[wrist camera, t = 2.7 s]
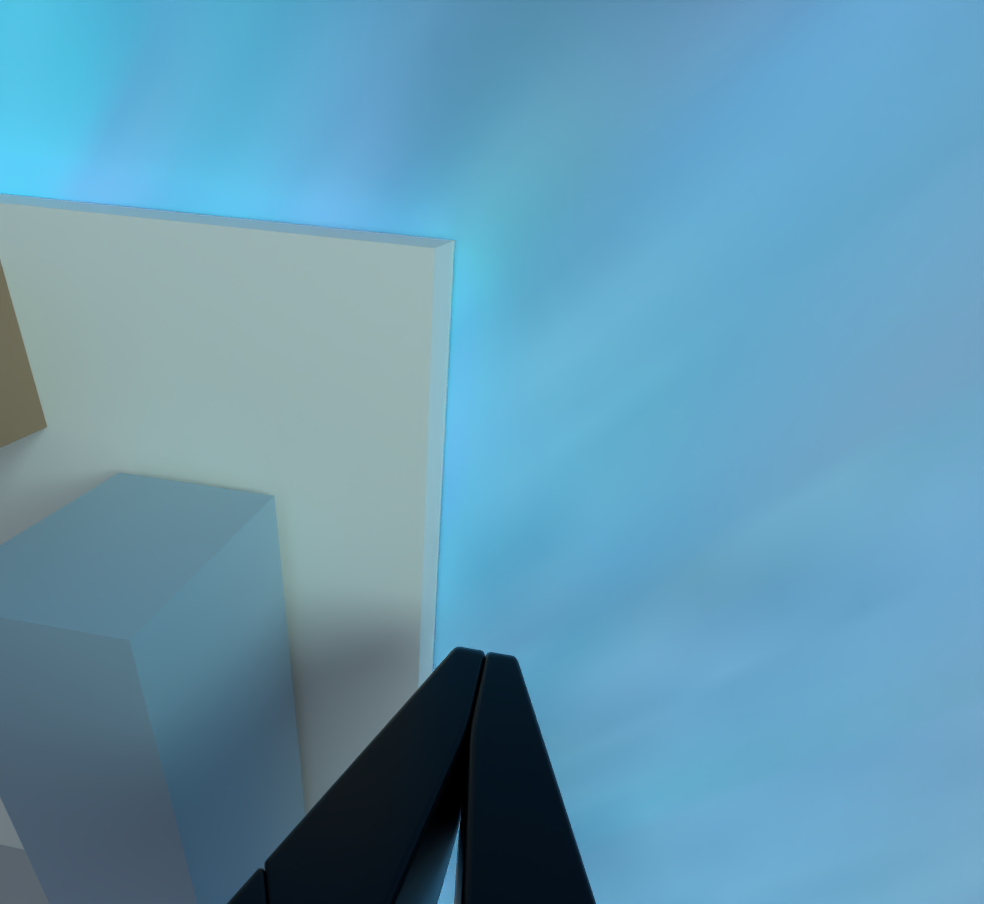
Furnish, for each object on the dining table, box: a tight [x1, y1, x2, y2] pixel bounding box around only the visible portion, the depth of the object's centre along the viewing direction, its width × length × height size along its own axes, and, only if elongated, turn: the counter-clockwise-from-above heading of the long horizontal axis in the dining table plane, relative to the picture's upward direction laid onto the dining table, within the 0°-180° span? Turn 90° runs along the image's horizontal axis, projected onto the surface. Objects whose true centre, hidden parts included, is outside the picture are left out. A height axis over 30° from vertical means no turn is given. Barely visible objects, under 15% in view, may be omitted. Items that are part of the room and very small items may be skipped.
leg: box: [0, 473, 305, 904], centre depth 9 cm, size 12×3×4 cm, turn 175°
